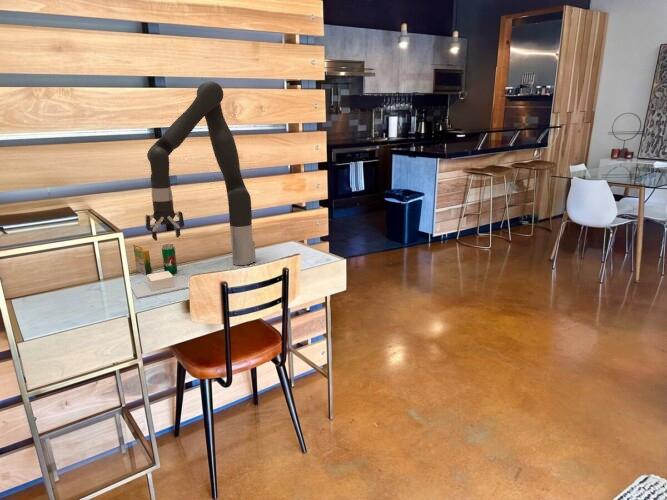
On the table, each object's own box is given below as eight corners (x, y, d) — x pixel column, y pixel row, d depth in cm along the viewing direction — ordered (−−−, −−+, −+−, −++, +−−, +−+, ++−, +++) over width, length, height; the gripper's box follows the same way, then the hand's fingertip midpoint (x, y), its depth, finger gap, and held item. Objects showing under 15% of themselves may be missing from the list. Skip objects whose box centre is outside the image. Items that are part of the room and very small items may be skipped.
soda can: (179, 271, 193) (176, 243, 189) (174, 275, 188) (171, 247, 184) (168, 271, 193) (164, 243, 190) (162, 275, 188) (159, 247, 185)
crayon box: (152, 272, 191) (148, 246, 188) (145, 274, 189) (141, 247, 186) (143, 269, 196) (139, 242, 192) (136, 271, 194) (132, 244, 190)
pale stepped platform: (183, 276, 186) (181, 265, 185) (193, 287, 175) (191, 276, 174) (130, 286, 176) (128, 275, 175) (137, 299, 165) (135, 287, 164)
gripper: (178, 195, 188) (182, 234, 193) (141, 199, 181) (146, 239, 186) (183, 198, 182) (187, 238, 187) (145, 202, 175) (150, 243, 180)
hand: (166, 238), depth 186 cm, fingers open, 8 cm apart
